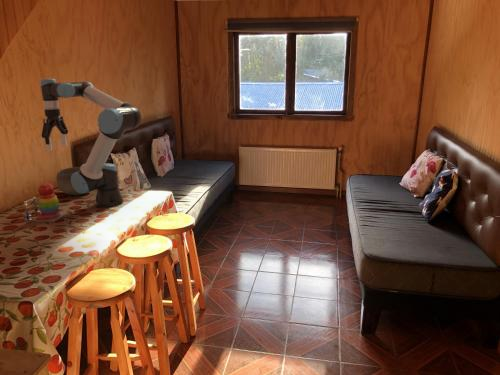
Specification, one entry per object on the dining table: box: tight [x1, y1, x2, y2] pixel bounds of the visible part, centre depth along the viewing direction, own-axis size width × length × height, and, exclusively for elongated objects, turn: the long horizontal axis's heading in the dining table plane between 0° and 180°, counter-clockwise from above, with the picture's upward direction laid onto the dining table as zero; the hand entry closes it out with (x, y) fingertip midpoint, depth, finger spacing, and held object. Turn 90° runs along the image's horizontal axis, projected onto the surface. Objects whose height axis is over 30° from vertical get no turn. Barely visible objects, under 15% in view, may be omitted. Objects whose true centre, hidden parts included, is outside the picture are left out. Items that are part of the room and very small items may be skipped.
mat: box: [31, 212, 68, 223], centre depth 220 cm, size 12×12×1 cm
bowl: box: [56, 166, 85, 196], centre depth 260 cm, size 21×21×15 cm
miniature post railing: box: [23, 196, 41, 222], centre depth 221 cm, size 8×16×9 cm, turn 170°
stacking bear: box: [35, 181, 61, 220], centre depth 217 cm, size 11×10×18 cm
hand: (57, 148), depth 232 cm, fingers open, 13 cm apart
